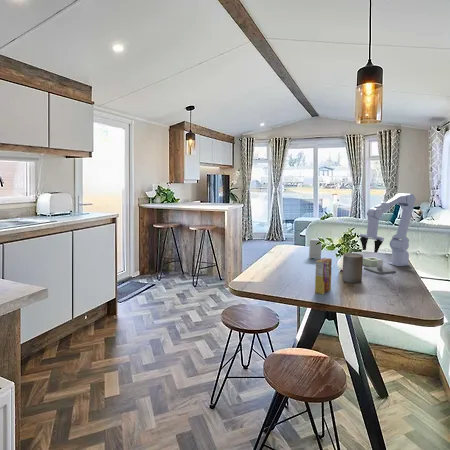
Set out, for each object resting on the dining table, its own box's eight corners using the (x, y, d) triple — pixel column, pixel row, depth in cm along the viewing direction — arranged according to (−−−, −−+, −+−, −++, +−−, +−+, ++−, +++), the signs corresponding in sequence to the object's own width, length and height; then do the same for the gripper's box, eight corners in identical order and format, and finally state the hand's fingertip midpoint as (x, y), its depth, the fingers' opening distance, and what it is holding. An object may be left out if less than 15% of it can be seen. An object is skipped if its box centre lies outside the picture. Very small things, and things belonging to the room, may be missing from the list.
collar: (372, 263, 228) (372, 257, 227) (381, 266, 220) (382, 259, 220) (362, 264, 225) (362, 257, 225) (371, 267, 218) (371, 260, 217)
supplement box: (320, 259, 236) (321, 240, 234) (309, 258, 238) (310, 239, 236) (320, 257, 243) (321, 238, 242) (308, 256, 245) (309, 238, 243)
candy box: (322, 288, 175) (324, 257, 173) (331, 290, 173) (332, 258, 171) (314, 292, 169) (315, 260, 167) (322, 294, 166) (324, 262, 164)
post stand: (380, 267, 217) (381, 256, 216) (395, 272, 206) (396, 261, 205) (363, 268, 213) (364, 258, 213) (378, 274, 202) (379, 262, 201)
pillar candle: (361, 279, 192) (362, 251, 190) (361, 284, 183) (363, 254, 181) (342, 277, 195) (343, 250, 193) (341, 282, 186) (342, 253, 184)
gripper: (357, 226, 217) (355, 249, 218) (380, 230, 205) (377, 253, 207) (364, 226, 221) (362, 248, 222) (386, 230, 209) (384, 253, 211)
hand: (369, 251), depth 215 cm, fingers open, 7 cm apart
